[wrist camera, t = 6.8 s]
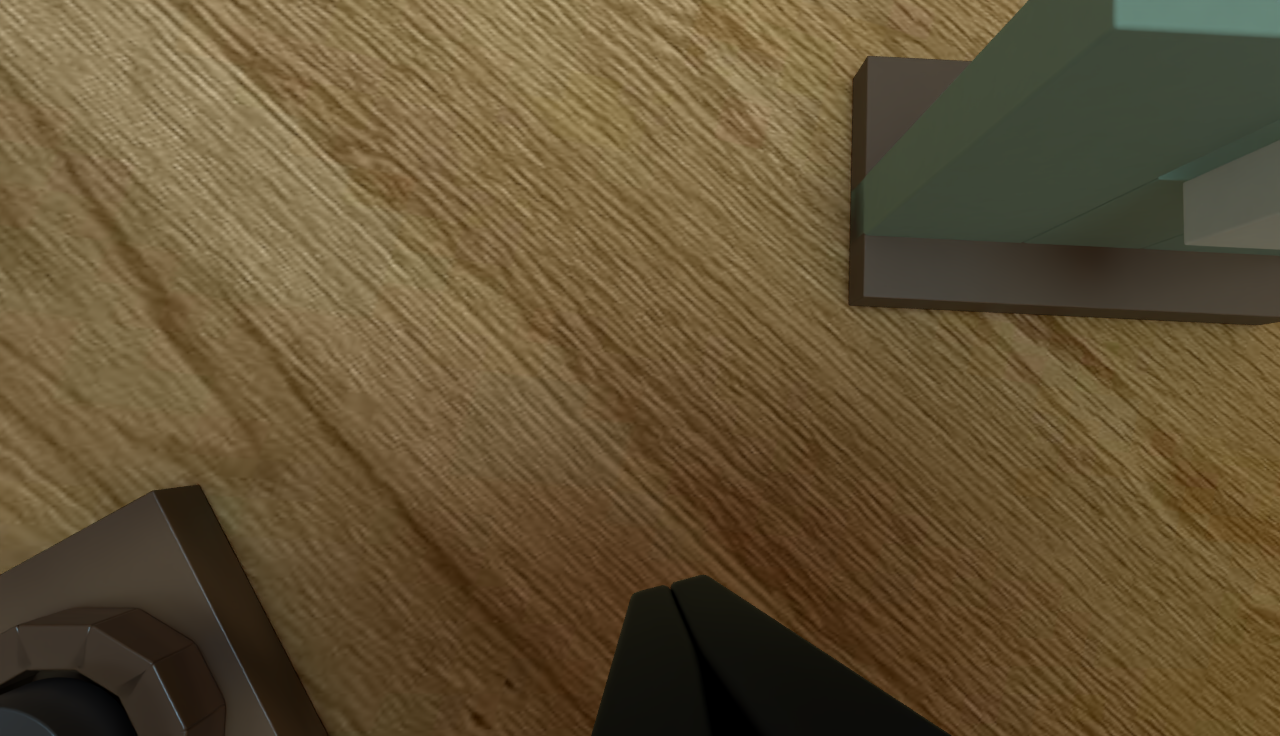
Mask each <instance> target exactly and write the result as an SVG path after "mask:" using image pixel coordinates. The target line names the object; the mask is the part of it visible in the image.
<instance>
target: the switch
mask: <svg viewBox="0 0 1280 736" xmlns="http://www.w3.org/2000/svg"><path fill="white" fill-rule="evenodd" d="M1183 215H1184V244H1185V245H1195V246H1215V247H1235V248H1256V249H1276V250H1280V140H1278V141H1276V142H1274V143H1271V144H1269V145H1267V146H1265V147H1262V148H1260V149H1258V150H1256V151H1253V152H1251V153H1249V154H1247V155H1244V156H1242V157H1240V158H1238V159H1235V160H1233V161H1231V162H1229V163H1226V164H1224V165H1222V166H1220V167H1218V168H1215V169H1213V170H1211V171H1209V172H1206V173H1204V174H1202V175H1200V176H1197V177H1195V178H1193V179H1191V180H1188V181H1186V182H1184V183H1183Z"/></svg>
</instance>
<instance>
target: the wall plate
mask: <svg viewBox="0 0 1280 736" xmlns="http://www.w3.org/2000/svg"><path fill="white" fill-rule="evenodd" d="M1278 140H1280V0H1028V2H1027V3H1026V4H1025V5H1024V6H1023V7H1022V8H1021V9H1020V10H1019V11H1018V12H1017V13H1016V14H1015V16H1014V17H1013V18H1012V19H1011V20H1010V21H1009V22H1008V23H1007V24H1006V25H1005V26H1004V27H1003V28H1002V30H1001V31H1000V32H999V33H998V34H997V35H996V36H995V37H994V38H993V39H992V40H991V41H990V42H989V44H988V45H987V46H986V47H985V48H984V49H983V50H982V51H981V52H980V53H979V54H978V55H977V56H976V58H975V59H974V60H973V61H957V60H938V59H919V58H899V57H880V56H867V58H866V60H865V61H864V63H863V64H862V66H861V67H860V69H859V71H858V72H857V74H856V75H855V77H854V79H853V121H852V172H851V222H850V272H849V305H853V306H874V307H895V308H916V309H936V310H957V311H978V312H999V313H1019V314H1040V315H1061V316H1082V317H1102V318H1123V319H1144V320H1165V321H1185V322H1206V323H1227V324H1247V325H1263V324H1269V323H1275V322H1280V250H1276V249H1256V248H1235V247H1215V246H1195V245H1185V244H1184V215H1183V183H1184V182H1186V181H1188V180H1191V179H1193V178H1195V177H1197V176H1200V175H1202V174H1204V173H1206V172H1209V171H1211V170H1213V169H1215V168H1218V167H1220V166H1222V165H1224V164H1226V163H1229V162H1231V161H1233V160H1235V159H1238V158H1240V157H1242V156H1244V155H1247V154H1249V153H1251V152H1253V151H1256V150H1258V149H1260V148H1262V147H1265V146H1267V145H1269V144H1271V143H1274V142H1276V141H1278Z"/></svg>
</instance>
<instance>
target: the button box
mask: <svg viewBox="0 0 1280 736" xmlns="http://www.w3.org/2000/svg"><path fill="white" fill-rule="evenodd" d="M55 677H64V678H74V679H79V680H83V681H86V682H89V683H91V684H93V685H95V686H97V687H99V688H101V689H103V690H104V691H105V692H107V693H108V694H109V695H111V696H112V697H113V698H114V699H115V700H116V701H117V702H118V703H119V705H120V706H121V707H122V708H123V710H124V711H125V713H126V715H127V716H128V718H129V720H130V722H131V725H132V727H133V730H134V733H135V736H328V735H327V733H326V731H325V729H324V727H323V726H322V724H321V722H320V720H319V718H318V716H317V714H316V712H315V710H314V708H313V706H312V704H311V702H310V700H309V698H308V696H307V694H306V692H305V691H304V689H303V687H302V685H301V683H300V681H299V679H298V677H297V675H296V673H295V671H294V669H293V667H292V665H291V663H290V661H289V659H288V658H287V656H286V654H285V652H284V650H283V648H282V646H281V644H280V642H279V640H278V638H277V636H276V634H275V632H274V630H273V628H272V626H271V624H270V623H269V621H268V619H267V617H266V615H265V613H264V611H263V609H262V607H261V605H260V603H259V601H258V599H257V597H256V595H255V593H254V591H253V589H252V588H251V586H250V584H249V582H248V580H247V578H246V576H245V574H244V572H243V570H242V568H241V566H240V564H239V562H238V560H237V558H236V556H235V555H234V553H233V551H232V549H231V547H230V545H229V543H228V541H227V539H226V537H225V535H224V533H223V531H222V529H221V527H220V525H219V523H218V521H217V520H216V518H215V516H214V514H213V512H212V510H211V508H210V506H209V504H208V502H207V500H206V498H205V496H204V494H203V492H202V490H201V488H200V486H199V485H193V486H185V487H177V488H170V489H162V490H154V491H151V492H149V493H147V494H146V495H144V496H142V497H140V498H138V499H137V500H135V501H133V502H131V503H129V504H128V505H126V506H124V507H122V508H120V509H119V510H117V511H115V512H113V513H111V514H109V515H108V516H106V517H104V518H102V519H100V520H99V521H97V522H95V523H93V524H91V525H90V526H88V527H86V528H84V529H82V530H81V531H79V532H77V533H75V534H73V535H72V536H70V537H68V538H66V539H64V540H63V541H61V542H59V543H57V544H55V545H53V546H52V547H50V548H48V549H46V550H44V551H43V552H41V553H39V554H37V555H35V556H34V557H32V558H30V559H28V560H26V561H25V562H23V563H21V564H19V565H17V566H16V567H14V568H12V569H10V570H8V571H7V572H5V573H3V574H1V575H0V695H1V694H4V693H6V692H9V691H11V690H13V689H16V688H18V687H20V686H23V685H25V684H28V683H31V682H34V681H37V680H41V679H46V678H55Z"/></svg>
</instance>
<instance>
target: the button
mask: <svg viewBox="0 0 1280 736" xmlns="http://www.w3.org/2000/svg"><path fill="white" fill-rule="evenodd" d="M0 736H135V733H134V730H133V727H132V725H131V722H130V720H129V718H128V716H127V715H126V713H125V711H124V710H123V708H122V707H121V706H120V705H119V703H118V702H117V701H116V700H115V699H114V698H113V697H112V696H111V695H109V694H108V693H107V692H105V691H104V690H103V689H101V688H99V687H97V686H95V685H93V684H91V683H89V682H86V681H83V680H79V679H74V678H64V677H55V678H46V679H41V680H37V681H34V682H31V683H28V684H25V685H23V686H20V687H18V688H16V689H13V690H11V691H9V692H6V693H4V694H1V695H0Z"/></svg>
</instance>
